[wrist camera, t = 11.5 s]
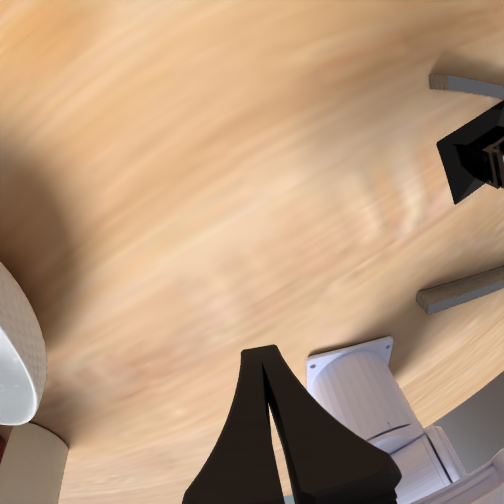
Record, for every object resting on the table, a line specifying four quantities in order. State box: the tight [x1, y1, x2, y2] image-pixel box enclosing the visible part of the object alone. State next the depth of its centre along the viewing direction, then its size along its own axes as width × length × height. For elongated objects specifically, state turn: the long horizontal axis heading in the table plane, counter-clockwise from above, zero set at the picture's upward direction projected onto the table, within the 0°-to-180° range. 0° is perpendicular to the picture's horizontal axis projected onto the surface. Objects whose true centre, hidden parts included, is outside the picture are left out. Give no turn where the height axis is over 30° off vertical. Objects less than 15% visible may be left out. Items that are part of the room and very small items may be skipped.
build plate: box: [437, 100, 504, 205], centre depth 18 cm, size 12×7×5 cm, turn 122°
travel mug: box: [0, 422, 68, 504], centre depth 21 cm, size 8×8×18 cm
